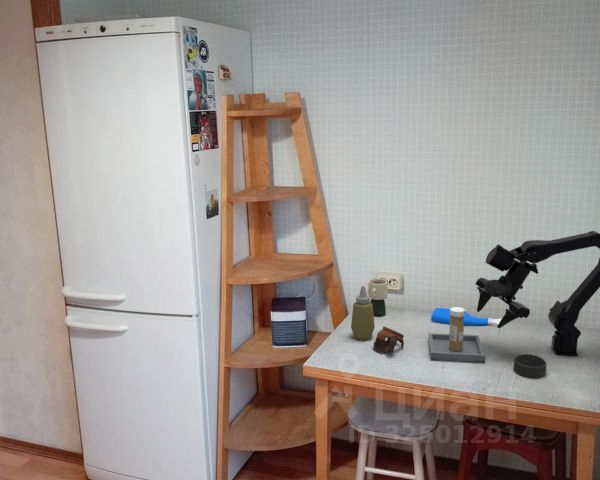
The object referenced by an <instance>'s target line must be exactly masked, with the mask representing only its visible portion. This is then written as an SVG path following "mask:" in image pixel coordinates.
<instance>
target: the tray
mask: <svg viewBox="0 0 600 480" xmlns="http://www.w3.org/2000/svg"><path fill="white" fill-rule="evenodd" d="M449 340H450V339H449V333H437V332H436V333H435V332H433V333H432V332H428V347H429V348H428V349H429V357H430V361H439V362H456V363H470V362H471V363H473V364H485V361H486V354H485V351H484V348H483V346H482V343H481V339H480V336H479V335H478V334H477V335H476V334H475V335H474V334H463V350H461V351H453V350H450V349H449Z"/></svg>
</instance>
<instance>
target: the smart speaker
mask: <svg viewBox="0 0 600 480" xmlns="http://www.w3.org/2000/svg"><path fill="white" fill-rule="evenodd" d="M547 365H548V364H547V362H546V360H545V359H544V358H542V357H541V356H538V355H534V354H526V353H525V354H519V355H517V356H516V357H515V358H514V359H513V369H514V372H515V373H517V374H519V375H520V376H522V377H525V378H541V377H543V376H545V374H546V373H547Z"/></svg>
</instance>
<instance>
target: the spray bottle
mask: <svg viewBox="0 0 600 480" xmlns="http://www.w3.org/2000/svg"><path fill="white" fill-rule="evenodd" d="M450 309H451V308H443V307H436V308H434V309H433V311H432V314H431V318H430V320H431V322H432V321H433V323H437V324H443V323H444V325H450ZM502 318H503V317H500V318H496V319H495V318H491V317H488V318H487V317H484V318H482V317H476V316H472V315H471V314H470V313H468V312H466V311H465V316H464V326H465V327H471V326H472V327H473V326H475V327H477V326H479V327H480V326H493V327H495V328H497V326H498V324H499V322H500V321H501V319H502Z"/></svg>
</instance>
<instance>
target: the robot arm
mask: <svg viewBox="0 0 600 480" xmlns="http://www.w3.org/2000/svg"><path fill="white" fill-rule="evenodd" d="M591 247H596V248H597V249H599V250H600V233H599V232H597V231H595V230H591V231H587V232H584V233H580V234H575V235H571V236H566V237H560V238H557V239H552V240H543V239H537V240H536V239H535V240H531V239H530V240H526V241H524V242H523V243H522V244H521V246H520V245H519V246H518V247H515V248H513V249H510V250H508V249H506V248H504V247H503V246H502V245H501V244H498V243H497V244H496V246H495V247H492V249H491V250H490V251H489V252H488V254H487V255H486V257H485V263H486V264H487V265H489V266H491V267H492V268H495V269H496V270H499V271H501V272H505V271H506V273H505V275H503V274H502V275H501V276H500V277H499V278H498V279H490V280H489V279H487V278H483V277H479V278H478V279H477V280H476V282H475V285H476V289H477V290H478V292H479V296H478V303H477V307H476V312H477V313H479V312H481V311H482V310H483V309H484V307H485V306H486V305H487V303H488V302H489V301H490V300H491V299H492V297H493V298H498V299H500V300H501V301H503V302H504V303H506V304H507V305H508V308H506V309H505V314H504V315H503V317H501V318H502V319H501V321H500V322H499V324H498V326H497V327H496V328H497V329H501V328H502V327H504V326H505V325H508V323H511V322H512V321H514V320H516V319H518V318H520V319H523V318H526V319H527V318H528V317H529V316H530V314H531V313H530V312H531V309H529V308H528V307H527V306H526V305H524V304H523V303H521V302H518V301H515V300H516V299H517V297H516V295H517V293H518V292H519V290H523V288H524V286H523V284H524V282H525V281H526V279H527V278H528V276H529V275H530V273H531V272H533V273H535V274H537V275H538V274H539V270H538V266H537V265H538V264H537V263H541V262H543V261H546V260H548V259H550V258H551V257H552V256H556V255H558V254H559V255H560V254H563V253H568V252H573V251H577V250H583V249H588V248H591ZM599 289H600V257H599V258H598V261H597V264H596V265H595V267H594V268H593V269H592V270H591V272H590V273H589V274H588V275H587V276H586V278H584V280H583V281H582V282H581V283H580V285H578V286H577V288H576V289H575V290H574V292H572V294H570V296H569V298H567V299H566V300H564V301H563V302H560V301H559V300H557V301H555V303H554V304H553V306H552V307H551V308H549V309H548V310H549V312H548V315H547V317H548V321H549V322H550V324H551V325H552V327H553V329H555V330H554V331H553V333H554V335H552V336H551V345H550V346H551V350H552V351H554V354H556V355H557V356H573V357H575V356H576V357H577V356H579V353H578V352H577V351H578V350H577V349H578V340H579V338H580V336H581V334H582V331H580V329H579V328H577V326H576V323H577V321H578V319H579V316H580V313H581V311H582V309H583V308H584V306H585V305H586V304H587V303H588V301H590V299H591V298H592V297H593V296H594V294H595V293H596V292H597V291H599Z"/></svg>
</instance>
